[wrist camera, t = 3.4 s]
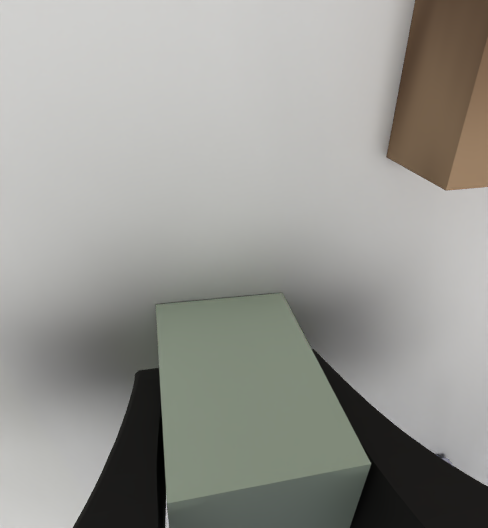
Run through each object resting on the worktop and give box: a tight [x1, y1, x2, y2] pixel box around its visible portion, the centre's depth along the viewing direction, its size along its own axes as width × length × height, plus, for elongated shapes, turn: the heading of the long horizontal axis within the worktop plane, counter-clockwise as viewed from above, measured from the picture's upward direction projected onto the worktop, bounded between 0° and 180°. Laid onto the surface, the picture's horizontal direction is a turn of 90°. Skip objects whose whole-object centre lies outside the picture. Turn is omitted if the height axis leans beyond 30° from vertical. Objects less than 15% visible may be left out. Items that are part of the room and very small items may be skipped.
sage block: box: [156, 293, 371, 528], centre depth 11 cm, size 4×4×6 cm
